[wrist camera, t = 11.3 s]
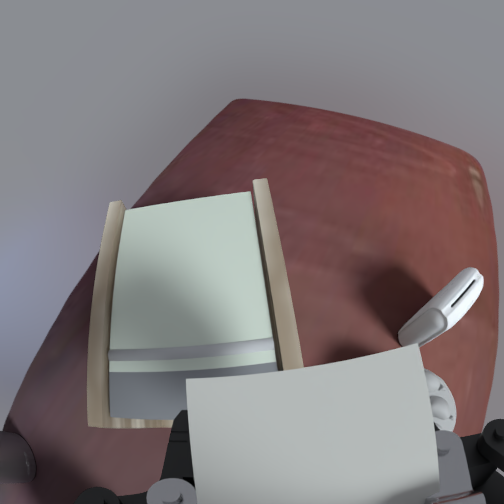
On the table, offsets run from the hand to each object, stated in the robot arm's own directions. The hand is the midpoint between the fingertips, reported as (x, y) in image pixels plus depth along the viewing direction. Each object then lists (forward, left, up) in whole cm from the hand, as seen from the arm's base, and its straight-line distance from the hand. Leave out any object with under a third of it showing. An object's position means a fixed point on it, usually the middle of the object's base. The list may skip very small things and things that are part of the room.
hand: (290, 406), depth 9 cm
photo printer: (+23, +7, -28) cm, 37 cm away
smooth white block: (0, -2, -4) cm, 5 cm away
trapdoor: (-7, +11, -18) cm, 22 cm away
